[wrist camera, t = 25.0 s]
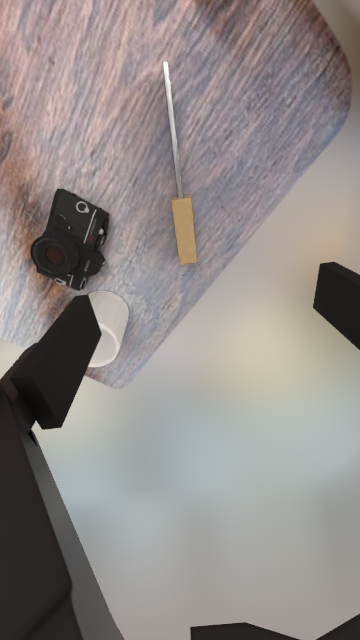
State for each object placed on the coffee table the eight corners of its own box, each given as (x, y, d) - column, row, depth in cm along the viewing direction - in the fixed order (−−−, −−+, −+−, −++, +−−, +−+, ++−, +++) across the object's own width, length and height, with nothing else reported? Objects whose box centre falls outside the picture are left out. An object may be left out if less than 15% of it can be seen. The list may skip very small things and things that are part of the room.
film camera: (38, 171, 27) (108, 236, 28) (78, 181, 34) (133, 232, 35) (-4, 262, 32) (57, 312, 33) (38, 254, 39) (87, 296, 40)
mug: (50, 299, 41) (18, 331, 32) (120, 285, 40) (106, 314, 31) (70, 338, 45) (47, 376, 36) (134, 326, 44) (126, 362, 35)
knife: (194, 252, 38) (197, 262, 33) (178, 255, 38) (179, 265, 33) (176, 75, 27) (177, 56, 23) (155, 79, 28) (152, 61, 23)
